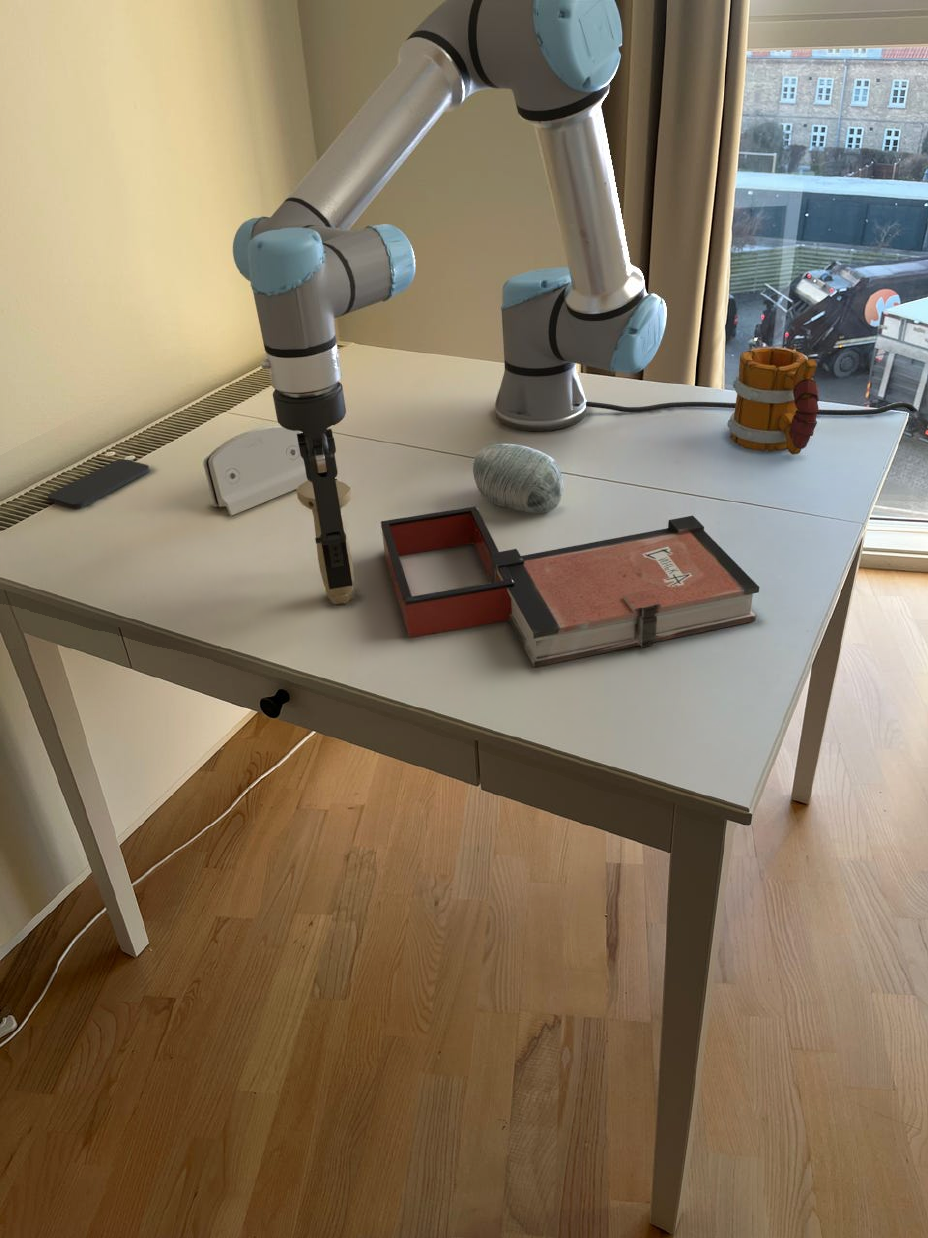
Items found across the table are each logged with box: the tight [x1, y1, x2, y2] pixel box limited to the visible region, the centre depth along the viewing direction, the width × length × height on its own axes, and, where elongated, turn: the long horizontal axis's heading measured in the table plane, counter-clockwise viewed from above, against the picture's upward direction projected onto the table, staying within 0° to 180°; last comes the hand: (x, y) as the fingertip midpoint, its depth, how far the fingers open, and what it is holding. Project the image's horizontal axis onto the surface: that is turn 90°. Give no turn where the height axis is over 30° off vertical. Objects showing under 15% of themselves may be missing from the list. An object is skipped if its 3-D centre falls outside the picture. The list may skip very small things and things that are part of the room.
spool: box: [472, 443, 564, 513], centre depth 133 cm, size 14×10×10 cm
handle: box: [295, 479, 355, 605], centre depth 113 cm, size 5×6×15 cm
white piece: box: [202, 425, 308, 516], centre depth 142 cm, size 17×5×10 cm, turn 132°
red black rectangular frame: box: [380, 505, 514, 638], centre depth 117 cm, size 13×20×5 cm, turn 12°
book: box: [490, 515, 760, 668], centre depth 111 cm, size 26×18×5 cm
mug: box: [726, 346, 820, 455], centre depth 142 cm, size 11×16×15 cm, turn 18°
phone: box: [47, 458, 151, 509], centre depth 149 cm, size 7×1×15 cm
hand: (335, 562), depth 115 cm, fingers open, 10 cm apart
